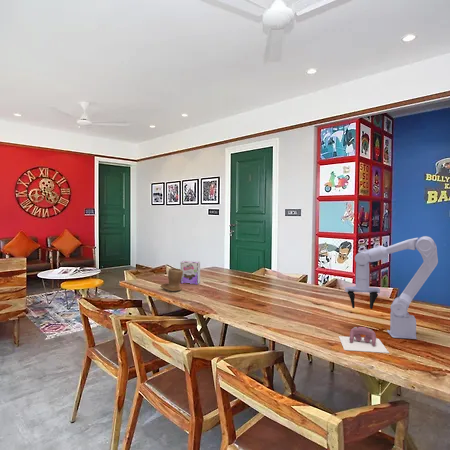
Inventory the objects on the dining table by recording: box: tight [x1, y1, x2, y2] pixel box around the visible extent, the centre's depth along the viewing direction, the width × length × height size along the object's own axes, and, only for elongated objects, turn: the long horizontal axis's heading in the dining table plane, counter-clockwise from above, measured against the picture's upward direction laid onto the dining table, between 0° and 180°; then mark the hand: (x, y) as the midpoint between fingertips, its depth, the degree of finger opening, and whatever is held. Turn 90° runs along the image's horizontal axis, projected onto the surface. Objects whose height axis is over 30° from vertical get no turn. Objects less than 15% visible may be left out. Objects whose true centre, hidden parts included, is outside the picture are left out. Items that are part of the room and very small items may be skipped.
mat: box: [338, 335, 390, 354], centre depth 132 cm, size 16×14×1 cm
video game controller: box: [349, 326, 377, 346], centre depth 134 cm, size 10×5×7 cm, turn 65°
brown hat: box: [160, 267, 183, 292], centre depth 225 cm, size 15×12×15 cm
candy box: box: [180, 260, 201, 285], centre depth 246 cm, size 14×6×16 cm, turn 73°
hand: (362, 307), depth 150 cm, fingers open, 7 cm apart
